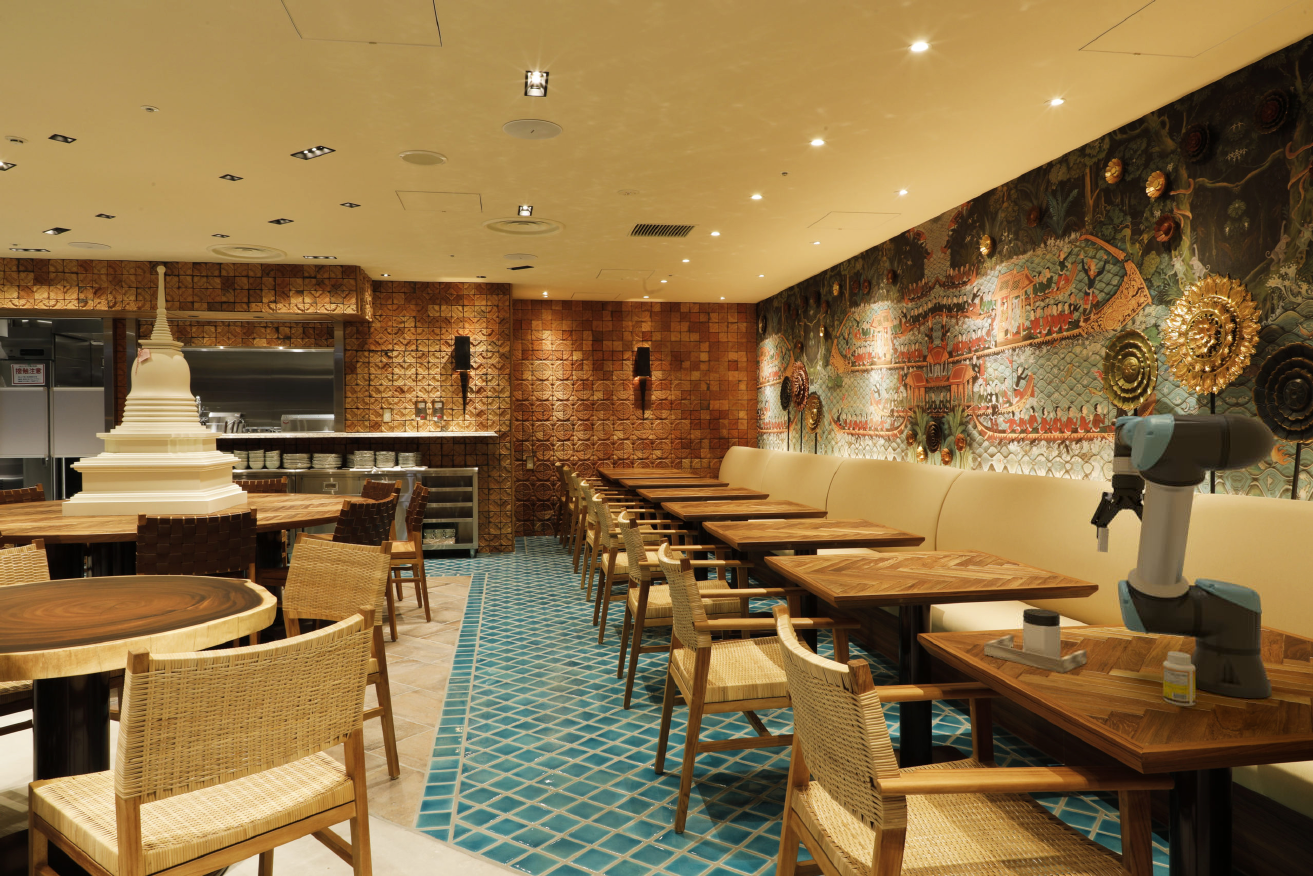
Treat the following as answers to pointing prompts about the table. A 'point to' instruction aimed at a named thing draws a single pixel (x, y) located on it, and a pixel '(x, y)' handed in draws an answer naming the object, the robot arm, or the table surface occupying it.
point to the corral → (1032, 656)
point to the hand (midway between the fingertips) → (1124, 554)
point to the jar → (1041, 632)
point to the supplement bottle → (1179, 679)
